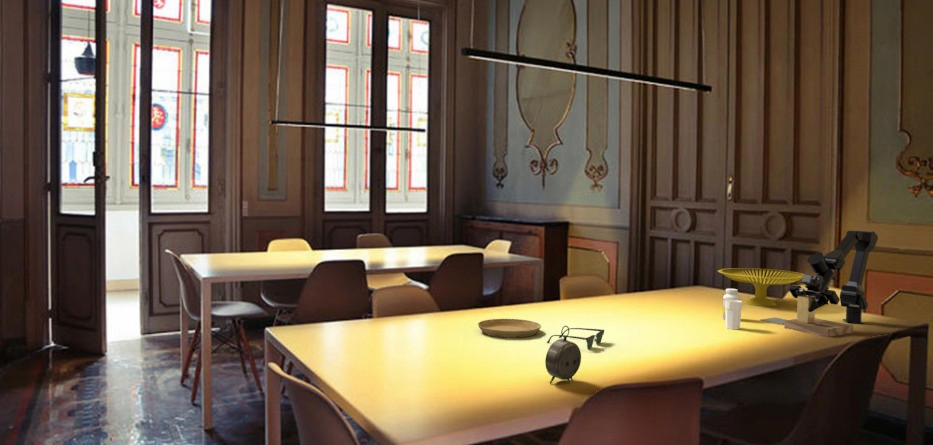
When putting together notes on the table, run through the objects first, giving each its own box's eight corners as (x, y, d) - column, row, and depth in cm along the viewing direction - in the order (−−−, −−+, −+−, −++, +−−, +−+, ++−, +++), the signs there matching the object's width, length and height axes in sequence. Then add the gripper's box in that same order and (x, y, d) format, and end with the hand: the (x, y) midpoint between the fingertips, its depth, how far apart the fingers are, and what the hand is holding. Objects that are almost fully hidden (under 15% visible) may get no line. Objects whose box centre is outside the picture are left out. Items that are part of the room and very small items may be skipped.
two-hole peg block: (809, 324, 277) (809, 317, 277) (852, 332, 261) (853, 325, 261) (784, 328, 268) (784, 320, 268) (827, 336, 253) (828, 329, 253)
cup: (741, 327, 269) (742, 300, 268) (741, 330, 263) (742, 302, 262) (724, 325, 271) (725, 299, 271) (723, 328, 266) (724, 301, 265)
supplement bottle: (738, 318, 288) (739, 288, 287) (739, 321, 282) (740, 290, 281) (722, 317, 290) (723, 287, 290) (722, 319, 284) (723, 289, 283)
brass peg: (803, 324, 269) (804, 295, 268) (814, 327, 265) (815, 296, 264) (796, 326, 266) (797, 296, 266) (807, 328, 262) (808, 297, 262)
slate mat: (775, 318, 289) (775, 317, 289) (796, 322, 280) (796, 321, 280) (760, 320, 284) (760, 319, 284) (781, 324, 275) (781, 323, 275)
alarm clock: (570, 376, 196) (571, 321, 195) (584, 381, 191) (585, 324, 191) (543, 383, 189) (544, 326, 188) (557, 388, 185) (558, 329, 184)
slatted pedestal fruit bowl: (726, 308, 310) (727, 276, 310) (709, 295, 350) (710, 266, 349) (819, 312, 304) (820, 279, 303) (791, 298, 343) (792, 269, 343)
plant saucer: (507, 323, 272) (507, 315, 272) (553, 333, 255) (554, 324, 255) (464, 332, 256) (464, 323, 255) (511, 343, 238) (511, 334, 238)
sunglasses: (561, 337, 250) (562, 323, 249) (605, 343, 241) (605, 329, 240) (542, 345, 236) (543, 331, 235) (588, 352, 227) (588, 337, 226)
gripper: (791, 265, 274) (773, 293, 269) (836, 270, 258) (818, 300, 253) (803, 282, 279) (785, 311, 274) (847, 289, 263) (829, 319, 258)
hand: (803, 310), depth 264 cm, fingers closed on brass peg, 4 cm apart
